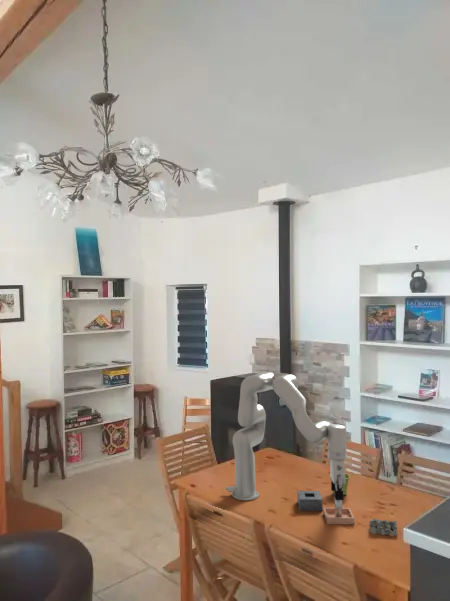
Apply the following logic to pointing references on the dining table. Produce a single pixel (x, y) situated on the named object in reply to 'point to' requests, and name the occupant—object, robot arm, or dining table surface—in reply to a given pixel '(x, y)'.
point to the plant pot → (345, 484)
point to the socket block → (310, 501)
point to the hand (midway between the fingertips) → (337, 495)
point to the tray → (331, 519)
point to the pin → (338, 507)
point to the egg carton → (378, 526)
